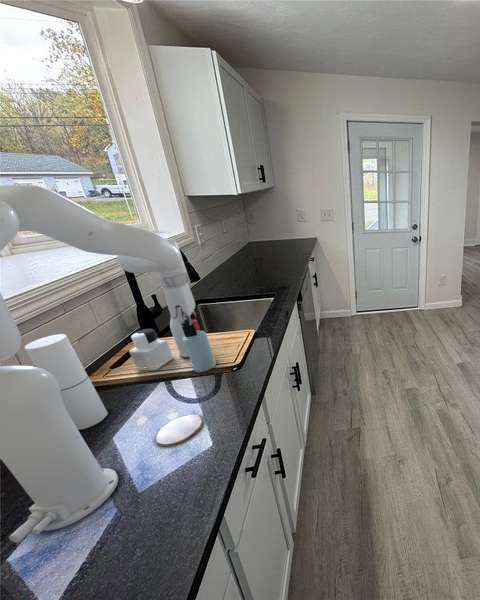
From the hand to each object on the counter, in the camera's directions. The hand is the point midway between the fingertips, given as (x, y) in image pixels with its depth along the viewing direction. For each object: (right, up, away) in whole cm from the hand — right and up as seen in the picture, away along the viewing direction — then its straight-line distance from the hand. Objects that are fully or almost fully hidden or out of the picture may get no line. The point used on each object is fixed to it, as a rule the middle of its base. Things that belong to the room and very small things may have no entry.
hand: (193, 332), depth 103 cm
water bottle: (+1, -12, +5) cm, 14 cm away
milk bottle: (-10, -9, +15) cm, 20 cm away
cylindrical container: (-18, -23, -16) cm, 33 cm away
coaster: (+11, -23, -22) cm, 34 cm away
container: (-19, -12, +9) cm, 24 cm away
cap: (0, +1, 0) cm, 1 cm away
